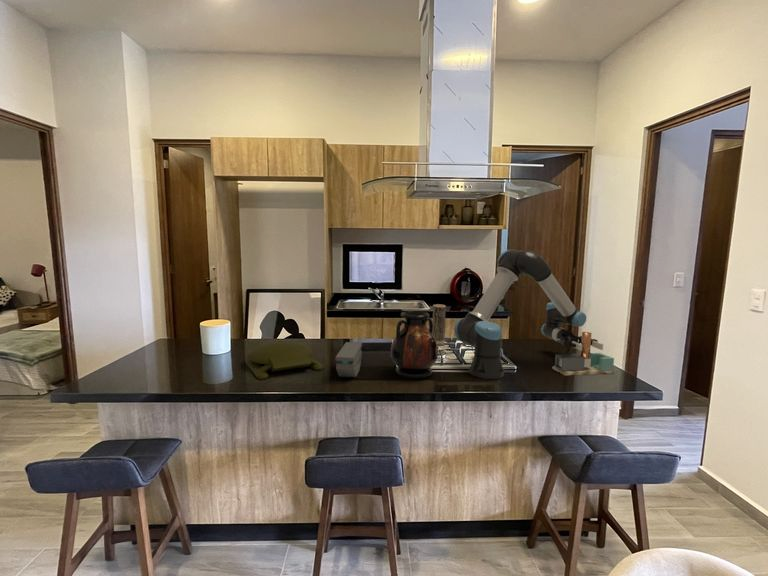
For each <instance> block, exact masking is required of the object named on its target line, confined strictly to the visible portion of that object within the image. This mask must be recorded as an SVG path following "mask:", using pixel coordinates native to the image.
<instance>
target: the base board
mask: <svg viewBox="0 0 768 576" xmlns="http://www.w3.org/2000/svg"><path fill="white" fill-rule="evenodd" d="M552 370H554V371H556V372H558V373H559V372H560V374H561V375H563V376H579V375H580V376H581V375H584V374H585V375H600V374H601V375H602V374H604V373H606V374H614V369H613V370H611V371H601V370H598V369H596V368H594V367H584V371H565V372H562V371H560V370H559V369H557V368H555V365H553V366H552Z"/></svg>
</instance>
